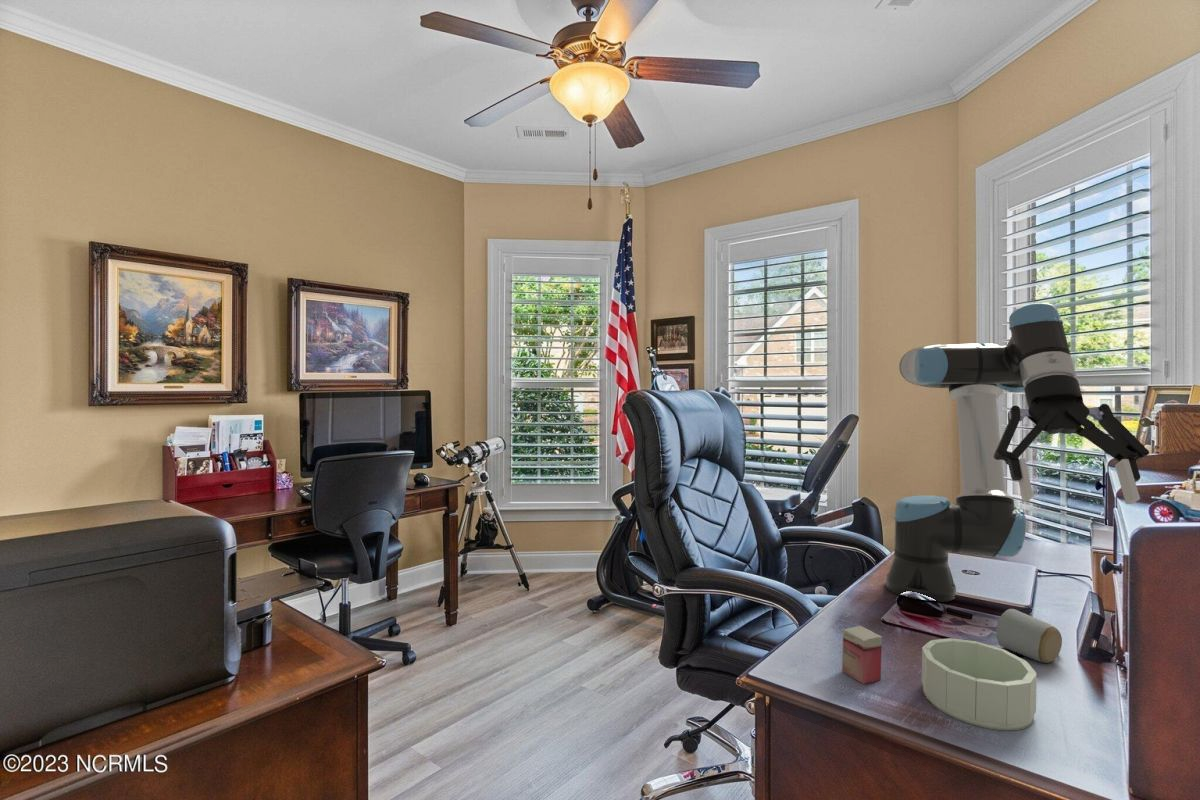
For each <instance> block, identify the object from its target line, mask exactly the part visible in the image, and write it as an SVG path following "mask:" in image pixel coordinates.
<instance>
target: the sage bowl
mask: <svg viewBox="0 0 1200 800" xmlns="http://www.w3.org/2000/svg"><path fill="white" fill-rule="evenodd" d="M1037 676H1038V675H1037V672H1036V671H1035V669H1034V668H1033V667H1032V666H1031V665H1030V663H1029V662H1028V661H1027V660H1025V659H1024V658H1022V657H1019V656H1017V655H1016V654H1014V653H1011V651H1010V652H1009V651H1008V650H1006V649H1005V648H1004V649H1003V648H1000V647H997V646H993V645H990V644H986V643H983V642H979V641H976V640H975V641H974V640H967V639H959V638H951V637H950V638H939V639H931V640H930V641H928V642H926V643H925V645H923V646H922V648H921V684H922V692H923V695H924V697H925V696H926V697H925V698H926V700H927V699H928V700H929V701H930V702H931V703H932V704H933V705H932V704H931V703H930V702H929V701H928V700H927V701H928V702H929V703H930V704H931V705H932V706H934V707H935V708H936V709H938V710H939V711H941V712H943V713H944V714H946V715H948V716H949V717H951V718H954V719H957V720H958V721H961V722H963V723H967V724H970V725H973V726H976V727H980V728H984V729H989V730H995V731H996V730H997V731H1010V732H1011V731H1012V732H1013V731H1019V730H1023V729H1026V728H1028V727H1031V725H1032V724H1033V723H1034V716H1035V714H1036V712H1037V683H1038V682H1037V680H1038V679H1037V678H1038V677H1037Z"/></svg>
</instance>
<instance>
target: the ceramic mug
mask: <svg viewBox="0 0 1200 800" xmlns="http://www.w3.org/2000/svg"><path fill="white" fill-rule="evenodd" d="M995 631H996V632H995V633H996V634H995V635H996V640H997V643H998V645H999V646H1001V647H1002V648H1004V649H1007V650H1009V651H1012V652H1014V653H1016V652H1017V654H1019V655H1021V654H1022V656H1024V657H1027V658H1029V659H1031V660H1034V661H1037V662H1040V663H1044V664H1048V663H1049V664H1050V663H1052V662H1053V661H1055V660H1056V659H1057V658H1058V656H1059V655H1060V653H1061V649H1062V645H1063V637H1062V635H1061V632H1060V630H1059V629H1058V628H1057V627H1055V626H1054V625H1052V624H1051V623H1049V622H1046V621H1043V620H1041V619H1038V618H1036V617H1033V616H1031V615H1028V614H1027V613H1025V612H1022V611H1020V610H1017V609H1015V608H1008V609H1006V610H1005V611H1004V612H1003V613H1002V614H1001V615H1000V618H999V619H998V621H997V626H996V630H995Z"/></svg>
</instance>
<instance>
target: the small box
mask: <svg viewBox="0 0 1200 800" xmlns="http://www.w3.org/2000/svg"><path fill="white" fill-rule="evenodd" d="M882 641H883V637H882V635H880V634H877V633H876V632H874V631H872V630H870V629H867V628H865V627H863V626H862V625H856V626H851V627H847V628H843V630H842V658H841V660H842V661H841V662H842V663H841V665H842V668H841V670H842V672H843V673H845V674H846V675H848V676H849V677H851V678H852V679H854V680H856V681H858V682H859V683H860V682H861V684H862V685H866V684H870V683H874V682H877V681H881V678H882V649H883V648H882V647H883V643H882Z"/></svg>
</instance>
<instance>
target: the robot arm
mask: <svg viewBox="0 0 1200 800" xmlns="http://www.w3.org/2000/svg"><path fill="white" fill-rule="evenodd" d="M1008 323H1009V326H1008V329H1009V330H1010V333H1011V335H1010V336H1011V337H1010V339H1009V340H1008V342H1007V344H1006V345H999V344H998V343H997V344H996V343H984V342H978V343H959V344H958V343H956V344H955V343H953V344H951V343H950V344H949V343H948V344H928V345H923V346H920V347H915V348H912V349H910V350H909V351H907V352H906V353H905V354H903V356H902V357H901V359H900V361H899V365H898V366H899V367H898V368H899V369H898V370H899V372H900V374H901V375H900V376H902V378H903V379H904V380H905V381H906V382H908V383H910V384H912V385H915V386H918V387H919V386H920V387H925V388H930V389H931V388H933V389H948V395H949V397H950V398H951V399H953V400H955V402H956V412H957V425H958V426H957V427H958V428H957V429H958V439H959V440H958V442H959V455H960V469H961V482H962V483H961V485H962V492H961V493H960V494H958V495H957V496H956V498H955V500H956V502H955V503H951V502H950V499H949V498H948V497H945V496H941V495H931V494H930V495H913V496H906V497H902V498H900V499H899V500H898V501H897V502H896V503H895V509H894V516H893V519H894V546H893V548H894V549H893V551H894V554H893V559H892V561H891V564H890V568H889V570H888V571H889V572H888V573H887V575H886V576H885V587H886V588H887V590H888V591H890V592H891V593H894V594H896V595H898V596H900V595H899V594H901V593H903V592H906V591H912V592H917V593H920V594H923V595H926V596H928V597H931V598H933V599H935V600H936V601H938V602H937V603H945V602H951V601H953V600H955V599H956V598H955V597H954V596H955V592H956V593H957V587H956V584H955V582H954V579H953V574H952V571H951V568H950V566H949V553H953V554H954V553H955V554H956V553H957V554H958V553H959V554H968V555H979V556H989V557H990V556H991V557H993V558H997V557H1001V558H1012V557H1015V556H1017V555H1019V553H1020V552H1021V550H1022V548H1023V546H1024V544H1025V540H1026V533H1027V517H1026V515H1025V511H1024V510H1023V509H1022V508H1020V507H1018V506H1015V502H1014V501H1015V500H1014V498H1013V497H1012V496H1011V495H1009V494H1008V493H1007V492H1006V488H1005V477H1004V467H1003V466H1004V465H1003V461H1004V462H1005V464H1006V465H1007V466H1008V468H1009V473H1010V478H1011V481H1015V482H1016V481H1017V482H1018V485H1019V492H1020V495H1021V499H1022V502H1025V503H1026V502H1029V501H1031V499H1032V498H1034V492H1033V488H1032V484H1031V480H1030V474H1029V469H1028V464H1027V461H1026V458H1020V457H1021V456H1022V455H1023V453H1024V452H1025V451H1026V450H1027V449H1028V448H1029V447H1030V446H1031V444H1032V443H1033V442H1034V441H1035V440H1036V438H1037V437H1038V436H1039V435H1041V433H1042V432H1046V433H1048V435H1056V434H1064V435H1071V434H1073V433H1075V434H1077V435H1078V436H1079V437H1081V438H1082V437H1083V438H1085V439H1086V440H1088V441H1089V442H1090V443H1092V444H1093V445H1095V446H1097V448H1099V449H1100V450H1101V451H1103V452H1105V453H1106V454H1107V455H1109V456H1110V457H1112V458H1113V459H1115V460H1116V461H1117V463H1116V464H1115V465H1114V467H1115V470H1116V474H1117V477H1118V481H1119V485H1120V488H1121V491H1122V495H1123V497H1124V501H1125V505H1133V504H1135V503H1136V502H1138V501H1140V500H1141V496H1140V494H1139V489H1138V487H1137V482H1138V481H1140V480H1141V474H1140V470H1139V468H1138V463H1137V462H1140V461H1142V460H1144V458H1146V456H1149V454H1150V451H1149V450H1148V448H1147V447H1145V445H1143V443H1141V441H1139V439H1137V437H1135V435H1134V434H1133V433H1131V431H1130V430H1128V429H1127V428H1126V426H1125V425H1123V423H1121V422H1120V420H1119V419H1118V418H1117V417H1116V416H1115V415H1114V414H1113V411H1112V409H1111V407H1110V405H1109V404H1107V403H1101V404H1100V406H1094V407H1088V406H1086V404H1085V403H1084V398H1083V394H1082V390H1081V386H1080V383H1079V380H1078V379H1077V372H1076V369H1075V365H1074V362H1073V358H1072V355H1071V351H1070V348H1069V347H1070V346H1069V343H1068V340H1067V336H1066V331H1065V328H1064V327H1065V326H1064V321H1063V320H1062V319H1061V315H1060V313H1059V310H1058V308H1057V307H1056V306H1055V305H1053V304H1050V303H1047V302H1038V303H1037V302H1036V303H1034V302H1033V303H1029V304H1025V305H1023V306H1020V307H1018V308H1017V309H1015V310H1014V311H1013V312H1012V313H1010V315H1009V317H1008ZM1004 391H1007V392H1009V393H1021V392H1024V394H1025V398H1026V404H1027V407H1028V408H1020V407H1019V406H1018V405H1013V406H1011V407H1010V409H1009V410H1008V413H1007V424H1006V427H1005V429H1004V432H1003V434H1002V436H1001V435H1000V425H999V424H1000V423H999V413H998V412H999V411H998V404H997V399H998V398H1000V396H1001V395H1002V394H1004ZM1088 416H1089V417H1092V419H1093V420H1094V421H1097V423H1098V424H1099V425H1100V427H1102V428H1103V429H1104V431H1106V432H1107V433H1105V432H1104V431H1103V430H1101V429H1100V428H1098V427H1097V426H1096V424H1095V423H1094V422H1092V421H1091V420H1090V419H1089V418H1088ZM1025 417H1027V419H1029V421H1031V422H1032V423H1034V424H1035V425H1034V427H1032V428H1031V430H1030V431H1029V432H1027V434H1026V436H1025V437H1024V438H1023V439H1022V440H1021V441H1020V442H1019V443H1018V444H1017V446H1016V447H1015V448H1014V449H1013V450H1012V451H1008V449H1009V446H1010V445H1011V442H1012V440H1013V437H1014V434H1015V433H1016V430H1017V428H1018V426H1019V423H1020V422H1022V421H1023V420H1024V419H1025Z"/></svg>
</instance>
